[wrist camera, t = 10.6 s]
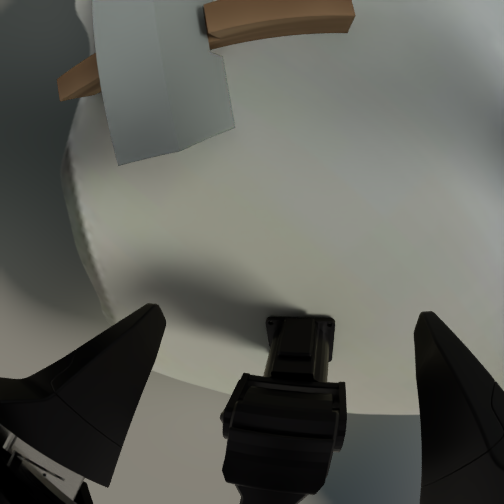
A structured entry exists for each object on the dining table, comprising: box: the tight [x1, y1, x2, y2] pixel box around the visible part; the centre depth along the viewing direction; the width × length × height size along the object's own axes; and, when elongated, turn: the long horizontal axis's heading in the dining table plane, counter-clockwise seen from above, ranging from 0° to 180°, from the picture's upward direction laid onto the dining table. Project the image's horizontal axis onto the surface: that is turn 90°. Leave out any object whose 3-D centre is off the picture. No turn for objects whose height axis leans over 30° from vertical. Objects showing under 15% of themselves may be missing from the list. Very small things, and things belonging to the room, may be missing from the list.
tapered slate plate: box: [92, 0, 235, 166], centre depth 10 cm, size 14×4×8 cm, turn 9°
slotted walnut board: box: [57, 0, 355, 101], centre depth 12 cm, size 2×20×4 cm, turn 99°
